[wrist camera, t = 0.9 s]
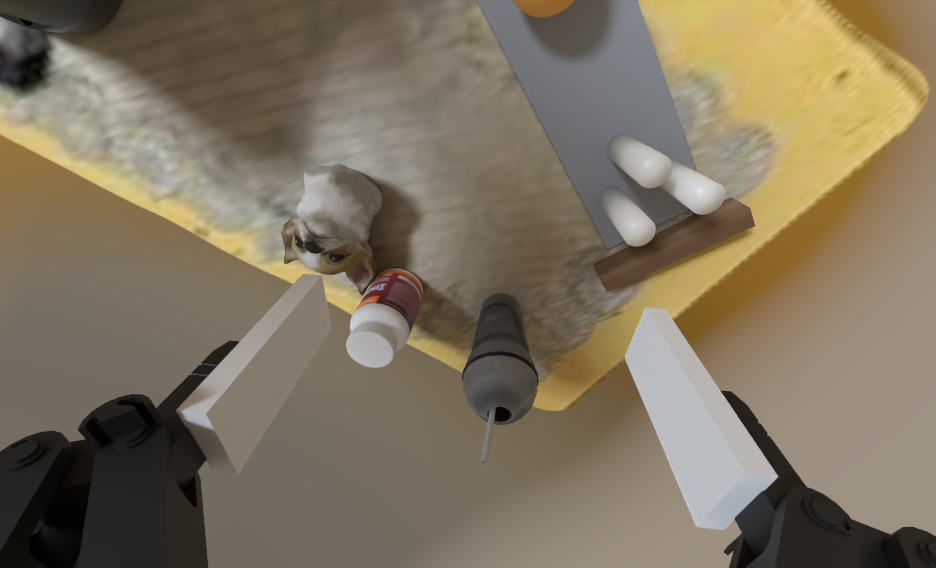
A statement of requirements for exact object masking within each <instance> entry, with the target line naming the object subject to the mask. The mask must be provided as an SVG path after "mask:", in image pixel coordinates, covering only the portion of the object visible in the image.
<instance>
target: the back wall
mask: <svg viewBox="0 0 936 568" xmlns="http://www.w3.org/2000/svg"><path fill="white" fill-rule="evenodd" d="M754 226H755V223H754V220H753V217H752V213H751V210H750V208H749V207H747V206H745V205H744V204H742V203H740V202H738V201H737V200H735V199H733V198H729V199H727V200H725V201H724V202H723V203H722V205H721V206H720V207H719V208H718V209H717V210H715V211H713V212H712V213H709V214H705V215H700V214H696V215H694V216H692V217H690V218H688V219H686V220H684V221H682V222H679V223H677V224H675V225H673V226H671V227H669V228H667V229H665V230H663V231H661V232H659V233H657V234H655V235H654V237H653V238H652V240H651V241H649V242H648V243H647V244H645V245H642V246H630V247H628V248H626V249H624V250H622V251H620V252H618V253H615V254H613V255H611V256H609V257H607V258H605V259H603V260H601V261H599V262H597V263H595V264H593V265H594V267H595V269H596V272H597V274H598V276H599V278H600V280H601V282H602V284H603V285H604V287H605V289H606V291H607V292H608V291H611V290H613V289H615V288H617V287H620V286H622V285H624V284H626V283H628V282H631V281H633V280H635V279H637V278H640V277H642V276H644V275H646V274H649V273H651V272H653V271H655V270H658V269H660V268H662V267H664V266H667V265H669V264H671V263H673V262H675V261H678V260H680V259H682V258H684V257H687V256H689V255H691V254H693V253H696V252H698V251H700V250H702V249H705V248H707V247H709V246H711V245H713V244H716V243H718V242H720V241H722V240H725V239H727V238H729V237H731V236H734V235H736V234H738V233H740V232H743V231H745V230H747V229H749V228H751V227H754Z"/></svg>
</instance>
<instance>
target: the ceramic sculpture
mask: <svg viewBox="0 0 936 568" xmlns="http://www.w3.org/2000/svg"><path fill="white" fill-rule="evenodd" d="M304 183H305V188H304V189H305V194H304V195H303V197H302V199H301V201H300V202H299V204H298V205H297V210H296V213H295V216H294V218H293V219H291V220H289V221H288V222H287V223H285V224H284V227H283V231H282V238H283V243H284V246H285V257H284V263H285V264H287V263H289V262H291V261H293V260H297V259H299V261H301V262H302V263H303V264H304V265H305V266H306V267H308V268H309V269H312V270H314V271H316V272H319V273H322V274H327V275H334V274H338V273H341V272H344V271H345V272H346V275H347V277H348V278H349V279H350V281H352V282H353V283H354V284H355V285H356V286H357V288H358V290H359V292H360V294H361V295H362V296H363V295H364V293H365V291H366V289H367V288H368V286H369V285H370V284H371V282H372V280H373V279H374V277H375V274H376V260H375V257H374V254H373V252H372V249H371V247H370V245H369V244H368V242H367V240H368V238H369V234H370V227H371V223H372V220H373V217H374V216H375V215H376V214H377V212H378V211H379V210H380V209H381V207H382V195H381V192H380V191H379V190H378V188H377V186H375V185H374V184H373V183H372V182H371V181H369V180H368V179H367V178H366V177H365V176H364V175H363V174H361V173H360V172H359V171H356V170H353V169H350V168H347V167H346V166H344V165H341V164H338V165H333V166H318V167H316V168H314V169H312V170H310V171H306V172H304Z"/></svg>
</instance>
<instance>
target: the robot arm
mask: <svg viewBox="0 0 936 568" xmlns="http://www.w3.org/2000/svg"><path fill="white" fill-rule="evenodd" d="M119 4H120V0H0V16H1V17H2V18H5V19H7V20H9V21H12V22H14V23H17V24H20V25H22V26H25V27H29V28H32V29H37V30H41V31H48V32H58V33H70V34H84V33H89V32H93V31H96V30H98V29H100V28H101V27H103V26H104V25H106V24H107V23H108V22H109V21H110V20H111V19H112V17H113V16H114V14H115V12H116V11H117V9H118V6H119ZM331 328H332V327H331V322H330V317H329V311H328V306H327V301H326V296H325V291H324V285H323V280H322V276H319V275H309V274H303V275H302V276H301V277H300V278H299V279H298V280H297V281H296V282H295V283H294V284H293V286H292V287H291V288H290V289H289V290H288V291H287V292H286V293H285V294H284V295H283V296H282V297H281V298H280V299H279V301H278V302H277V303H276V304H275V305H274V306H273V307H272V308H271V309H270V311H268V312H267V313H266V315H265V316H264V317H263V318H262V319H261V320H260V321H259V322H258V323H257V324H256V325H255V326H254V327H253V329H252V330H251V331H250V332H249V333H248V334H247V335H246V336H245V337H244V338H243V339H242V340H241V341H240V342H238V341H229V342H227V343H225V344H224V345H222V346H221V347H219V348H217V349H216V350H214V351H213V352H212V353H211V354H210V355H209V356H208V357H207V358H206V359H205V360H204V361H203V362H202V364H201V365H199V366H198V367H197V368H196V369H195V370H194V371H193V372H192V375H189V376H188V377H187V378H186V379H185V380H184V381H183V382H182V383H181V384H180V385H179V386H178V387H177V388H176V389H175V390H174V391H173V392H172V393H171V394H170V395H169V396H168V397H167V398H166V399H165V400H164V401H163V402H162V403H161V404H160V405H159V406H158V407H157V408H155V406H154V404H153V403H152V401H151V400H150V398H149V397H146V396H144V395H140V394H138V395H137V394H131V395H127V396H123V397H118V398H116V399H114V400H111V401H109V402H107V403H104V404H103V405H101V406H100V407H98V408H97V409H95V410H93V411H92V412H91V413H90V414H89V415H88V416H87V417H86V418H85V419H84V420H83V421H82V423H81V425H80V426H79V428H78V431H79V432H80V433H81V434H82V435H83V436H84V438H85V440H79V441H74V442H69V440H68V439H67V438H66V437H65V436H64V435H63V434H62V433H59V432H56V431H46V432H40V433H36V434H33V435H31V436H27V437H25V438H23V439H21V440H19V441H17V442H15V443H13V444H11V445H9V446H8V447H6V448H5V449H4V450H2V451H1V452H0V568H208V560H207V549H206V537H205V526H204V514H203V502H202V491H201V479H200V476H199V474H198V472H197V471H198V470H199V469H200V467H201V466H202V465H203V463H204V462H205V461H207V462H208V464H209V466H210V467H211V469H212V471H216V472H225V473H233V474H239V473H240V471H241V469H242V468H243V466H244V465H245V463H246V461H247V460H248V458H249V457H250V455H251V454H252V452H253V450H254V449H255V447H256V446H257V444H258V443H259V441H260V439H261V438H262V436H263V435H264V433H265V432H266V430H267V428H268V427H269V425H270V424H271V422H272V420H273V419H274V417H275V416H276V414H277V413H278V411H279V410H280V408H281V406H282V405H283V403H284V402H285V400H286V399H287V397H288V395H289V394H290V392H291V390H292V389H293V388H294V386H295V384H296V383H297V381H298V380H299V378H300V377H301V375H302V373H303V372H304V370H305V369H306V367H307V366H308V364H309V362H310V361H311V359H312V358H313V356H314V355H315V353H316V351H317V350H318V348H319V347H320V345H321V344H322V342H323V340H324V339H325V337H326V336H327V334H328V332H329V331H330V329H331ZM624 358H625V360H626V363H627V365H628V367H629V370H630V372H631V374H632V377H633V379H634V381H635V384H636V386H637V388H638V391H639V393H640V396H641V398H642V400H643V403H644V405H645V407H646V409H647V412H648V414H649V417H650V419H651V421H652V424H653V426H654V428H655V431H656V433H657V436H658V438H659V440H660V443H661V445H662V447H663V450H664V452H665V454H666V457H667V459H668V461H669V464H670V466H671V469H672V471H673V473H674V475H675V478H676V480H677V482H678V485H679V487H680V490H681V492H682V494H683V497H684V499H685V501H686V504H687V506H688V508H689V511H690V513H691V516H692V518H693V520H694V523H695V525H696V527H703V528H711V529H720V530H724V529H726V528H727V527H728V526H729V525H730V523H732V521H734V520H735V521H736V522H737V524H738V526H739V528H740V530H741V532H742V534H740V536H738V537H737V538H736V539H735V540H734V541H733V542H732V543H731V544H730V545H728V547H727V548H726V549H725V551H724V553H725V554H727V555H729V554H730V553H731V552H732V551H734V552H733V555H732V559H731V563H730V566H729V568H936V536H934V535H932V534H930V533H928V532H927V531H924V530H920V529H917V528H914V527H902V528H901V529H899V530H897V531H896V532H894V533H893V534H891V535H890V534H888V533H885V532H883V531H880V530H878V529H875V528H872V527H870V526H867V525H865V524H862V523H859V522H857V521H854V520H852V519H851V518H850V517H849V515H848V514H847V513H846V512H845V511H844V510H843V509H842V508H841V507H840V506H839V505H837V503H835V502H834V501H832V500H831V499H829V498H828V497H827V496H825V495H824V494H822V493H820V492H817V491H815V490H813V489H811V488H807V487H806V485H805V484H804V483H803V482H802V480H801V479H800V477H799V476H798V475H797V473H796V472H795V471H794V469H793V468H792V466H791V465H790V464H789V462H788V461H787V459H786V458H785V457H784V455H783V454H782V453H781V451H780V450H779V449H778V447H777V446H776V444H775V443H774V442H773V440H772V439H771V437H769V436H767V432H766V431H765V429H764V428H763V427H762V425H761V424H759V423H758V419H757V418H756V417H755V415H754V414H753V413H752V411H751V410H750V408H749V407H748V406H747V405H746V404H745V403H744V402H743V401H742V400H740V399H739V398H738V397H737V396H736V395H735V394H734V393H732V392H730V391H721V390H719V388H718V387H717V385H716V384H715V382H714V381H713V379H712V378H711V376H710V375H709V373H708V372H707V370H706V369H705V367H704V366H703V364H702V363H701V361H700V360H699V358H698V357H697V355H696V354H695V353H694V351H693V350H692V348H691V347H690V345H689V344H688V342H687V341H686V339H685V338H684V336H683V335H682V333H681V332H680V330H679V329H678V327H677V326H676V324H675V323H674V321H673V320H672V318H671V317H670V315H669V314H668V313H667V311H666V310H665V309H660V308H649V307H646V308H645V310H644V312H643V315H642V317H641V319H640V322H639V324H638V326H637V329H636V331H635V333H634V336H633V338H632V340H631V343H630V345H629V347H628V350H627V352H626V354H625V357H624Z"/></svg>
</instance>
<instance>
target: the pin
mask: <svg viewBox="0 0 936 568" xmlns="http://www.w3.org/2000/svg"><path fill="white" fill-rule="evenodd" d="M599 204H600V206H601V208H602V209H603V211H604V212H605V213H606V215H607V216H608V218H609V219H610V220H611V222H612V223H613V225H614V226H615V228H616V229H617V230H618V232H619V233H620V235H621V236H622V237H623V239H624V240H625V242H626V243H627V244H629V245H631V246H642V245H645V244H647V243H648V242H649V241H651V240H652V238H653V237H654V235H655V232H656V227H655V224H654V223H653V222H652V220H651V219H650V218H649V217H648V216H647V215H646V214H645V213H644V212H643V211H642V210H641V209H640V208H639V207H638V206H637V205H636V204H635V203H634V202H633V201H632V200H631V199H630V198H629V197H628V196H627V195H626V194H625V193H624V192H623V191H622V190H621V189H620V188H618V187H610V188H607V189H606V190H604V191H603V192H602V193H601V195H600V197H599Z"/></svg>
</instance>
